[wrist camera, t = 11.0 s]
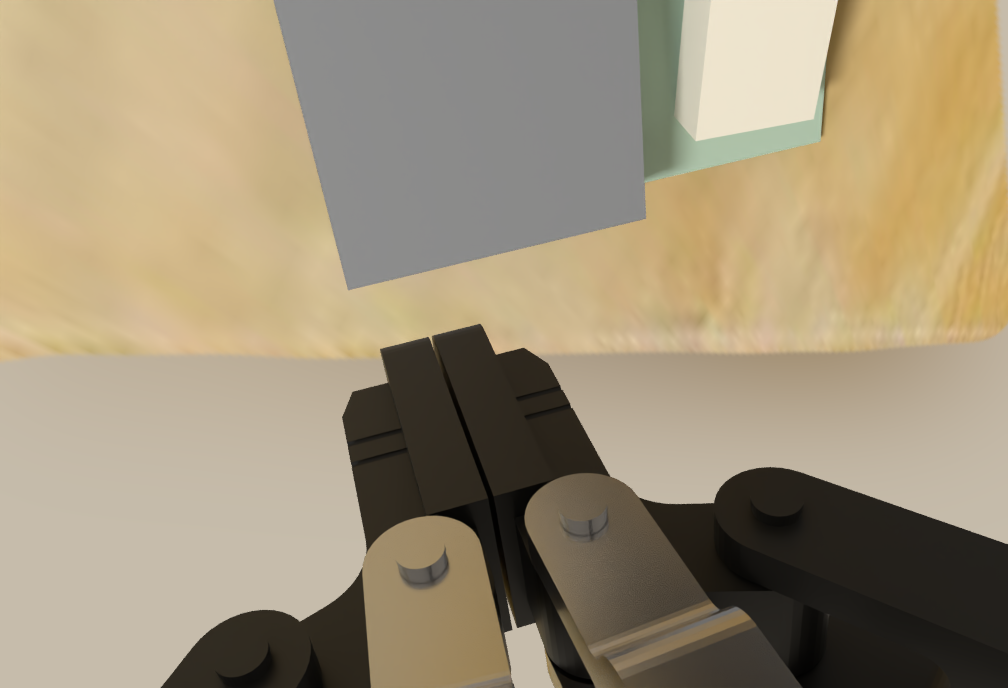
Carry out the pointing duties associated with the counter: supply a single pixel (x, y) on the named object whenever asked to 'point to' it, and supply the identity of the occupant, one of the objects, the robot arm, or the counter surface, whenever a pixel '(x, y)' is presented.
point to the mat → (662, 132)
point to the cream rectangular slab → (750, 64)
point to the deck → (467, 124)
